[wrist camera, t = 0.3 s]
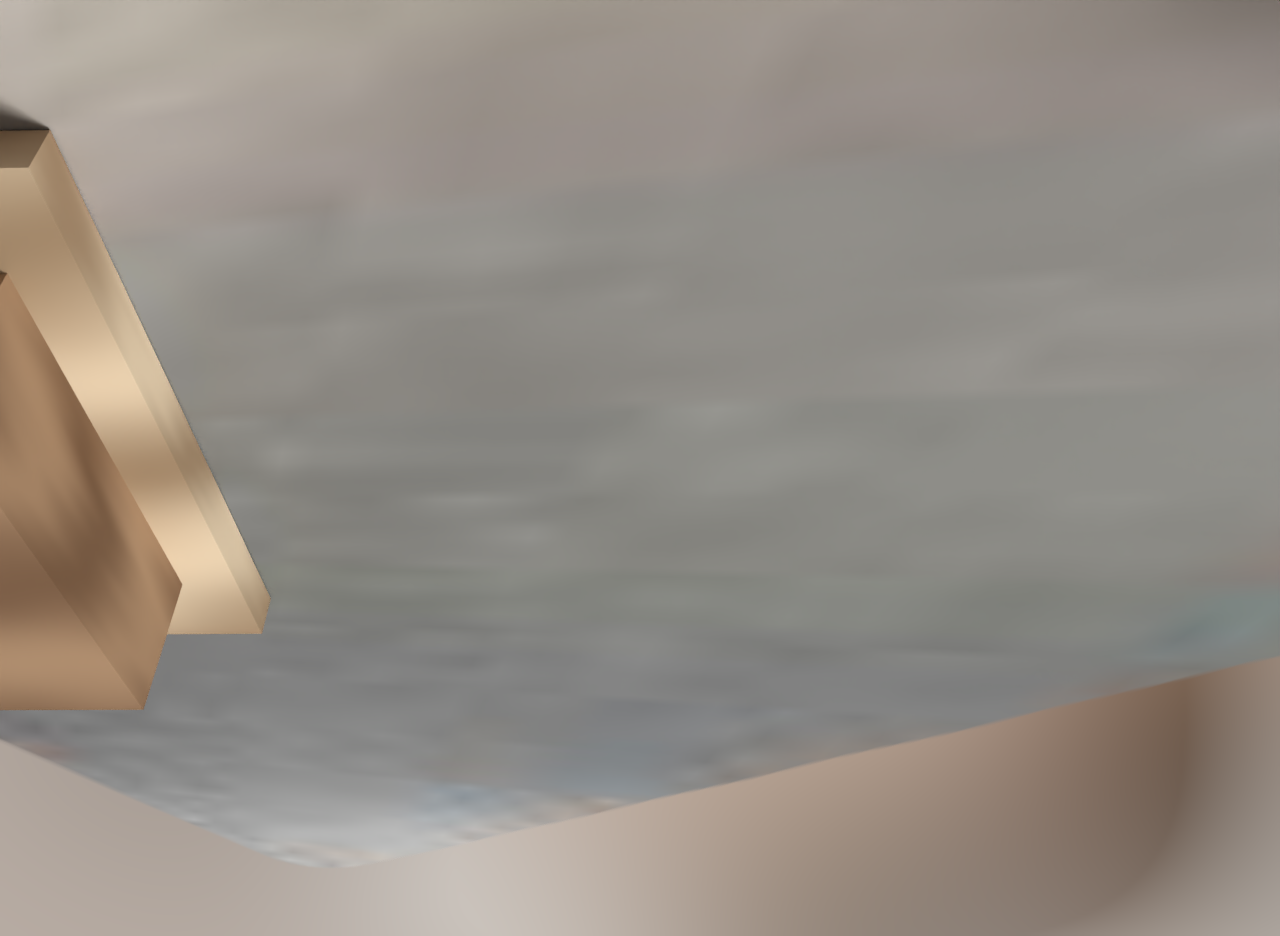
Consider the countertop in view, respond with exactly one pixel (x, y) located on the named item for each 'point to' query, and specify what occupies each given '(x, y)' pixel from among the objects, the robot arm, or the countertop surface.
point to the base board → (123, 383)
